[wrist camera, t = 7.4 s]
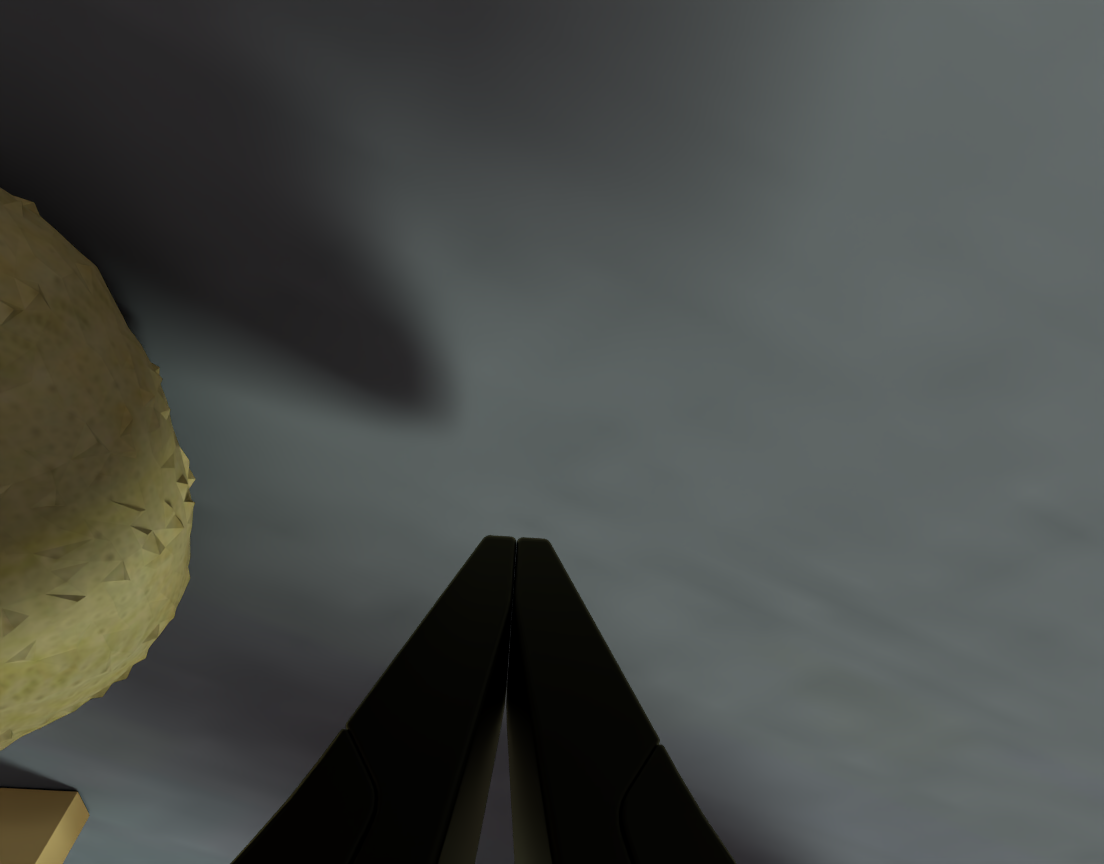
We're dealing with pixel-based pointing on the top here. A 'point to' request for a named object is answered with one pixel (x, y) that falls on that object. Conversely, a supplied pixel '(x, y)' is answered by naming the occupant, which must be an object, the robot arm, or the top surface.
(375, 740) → the robot arm
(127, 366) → the sea urchin shell
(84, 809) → the box
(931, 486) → the top surface
